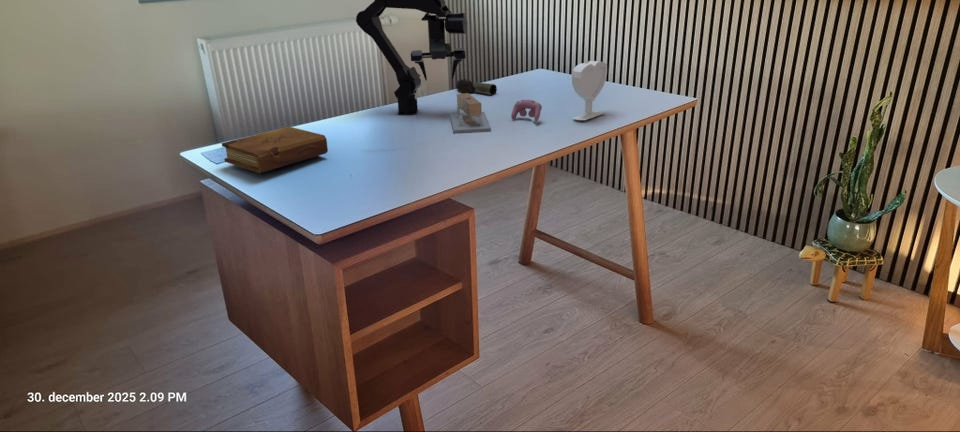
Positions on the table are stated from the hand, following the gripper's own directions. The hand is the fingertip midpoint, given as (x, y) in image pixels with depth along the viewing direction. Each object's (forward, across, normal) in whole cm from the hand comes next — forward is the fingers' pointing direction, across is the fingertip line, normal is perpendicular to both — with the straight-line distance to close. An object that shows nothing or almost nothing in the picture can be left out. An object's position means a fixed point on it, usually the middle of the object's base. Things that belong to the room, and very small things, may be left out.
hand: (439, 79), depth 234 cm
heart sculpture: (+12, +50, -14) cm, 53 cm away
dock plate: (+12, +9, -16) cm, 22 cm away
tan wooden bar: (+8, +9, -16) cm, 20 cm away
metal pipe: (+15, +19, +24) cm, 33 cm away
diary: (+13, -50, -41) cm, 66 cm away
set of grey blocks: (+12, +9, -16) cm, 22 cm away
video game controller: (+12, +28, -16) cm, 34 cm away
